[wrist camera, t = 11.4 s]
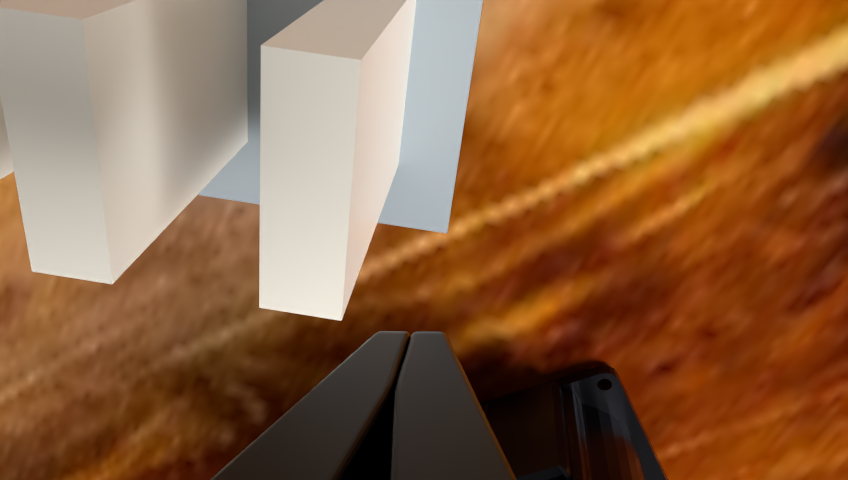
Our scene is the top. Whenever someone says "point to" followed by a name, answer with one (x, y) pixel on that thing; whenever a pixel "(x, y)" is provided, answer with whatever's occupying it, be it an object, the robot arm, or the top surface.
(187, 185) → the domino
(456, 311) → the top surface
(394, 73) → the domino
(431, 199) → the domino board
